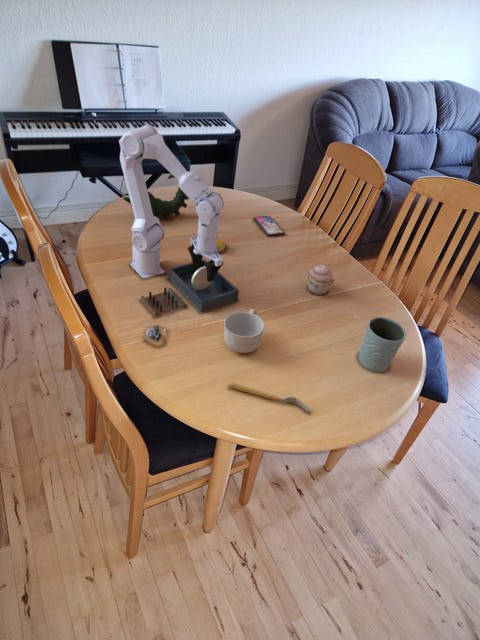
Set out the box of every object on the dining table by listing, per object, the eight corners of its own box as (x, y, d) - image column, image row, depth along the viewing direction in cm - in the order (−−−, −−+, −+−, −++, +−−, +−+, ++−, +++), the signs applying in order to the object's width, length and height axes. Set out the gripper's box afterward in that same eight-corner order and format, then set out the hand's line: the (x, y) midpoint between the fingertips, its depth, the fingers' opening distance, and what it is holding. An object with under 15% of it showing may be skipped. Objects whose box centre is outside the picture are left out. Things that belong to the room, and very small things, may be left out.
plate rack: (140, 300, 130) (140, 292, 128) (170, 291, 136) (170, 283, 134) (155, 317, 125) (155, 309, 123) (185, 307, 130) (185, 299, 128)
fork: (229, 386, 106) (310, 408, 104) (231, 379, 108) (311, 401, 105) (229, 391, 108) (308, 413, 106) (231, 385, 110) (309, 406, 107)
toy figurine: (179, 213, 181) (118, 213, 169) (186, 168, 170) (121, 164, 158) (187, 224, 174) (124, 224, 163) (194, 178, 163) (127, 175, 152)
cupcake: (311, 278, 152) (318, 253, 146) (335, 289, 149) (343, 264, 142) (298, 289, 146) (305, 264, 140) (323, 301, 142) (331, 276, 136)
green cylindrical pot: (369, 377, 118) (384, 344, 110) (348, 352, 124) (360, 319, 117) (398, 369, 122) (414, 337, 114) (376, 345, 128) (390, 313, 121)
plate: (190, 291, 136) (191, 269, 131) (212, 284, 141) (213, 263, 135) (192, 292, 136) (193, 271, 131) (213, 285, 140) (215, 264, 135)
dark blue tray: (168, 279, 141) (168, 268, 138) (203, 269, 148) (204, 259, 145) (200, 313, 129) (201, 302, 127) (237, 300, 137) (239, 290, 134)
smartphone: (268, 234, 171) (253, 216, 181) (267, 236, 172) (252, 218, 182) (285, 232, 174) (269, 215, 184) (284, 235, 174) (269, 217, 185)
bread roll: (212, 255, 155) (213, 245, 153) (197, 244, 160) (197, 234, 158) (229, 249, 160) (231, 240, 158) (214, 239, 165) (215, 229, 162)
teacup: (247, 364, 115) (251, 342, 110) (213, 346, 119) (216, 324, 114) (271, 337, 125) (277, 315, 120) (240, 321, 129) (243, 300, 124)
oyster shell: (165, 326, 123) (165, 320, 122) (172, 345, 117) (172, 339, 116) (141, 329, 121) (141, 324, 119) (147, 348, 115) (147, 343, 114)
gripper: (182, 226, 128) (180, 265, 137) (209, 249, 120) (205, 289, 129) (202, 222, 132) (199, 260, 141) (230, 244, 124) (225, 283, 132)
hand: (203, 274), depth 135 cm, fingers open, 7 cm apart
